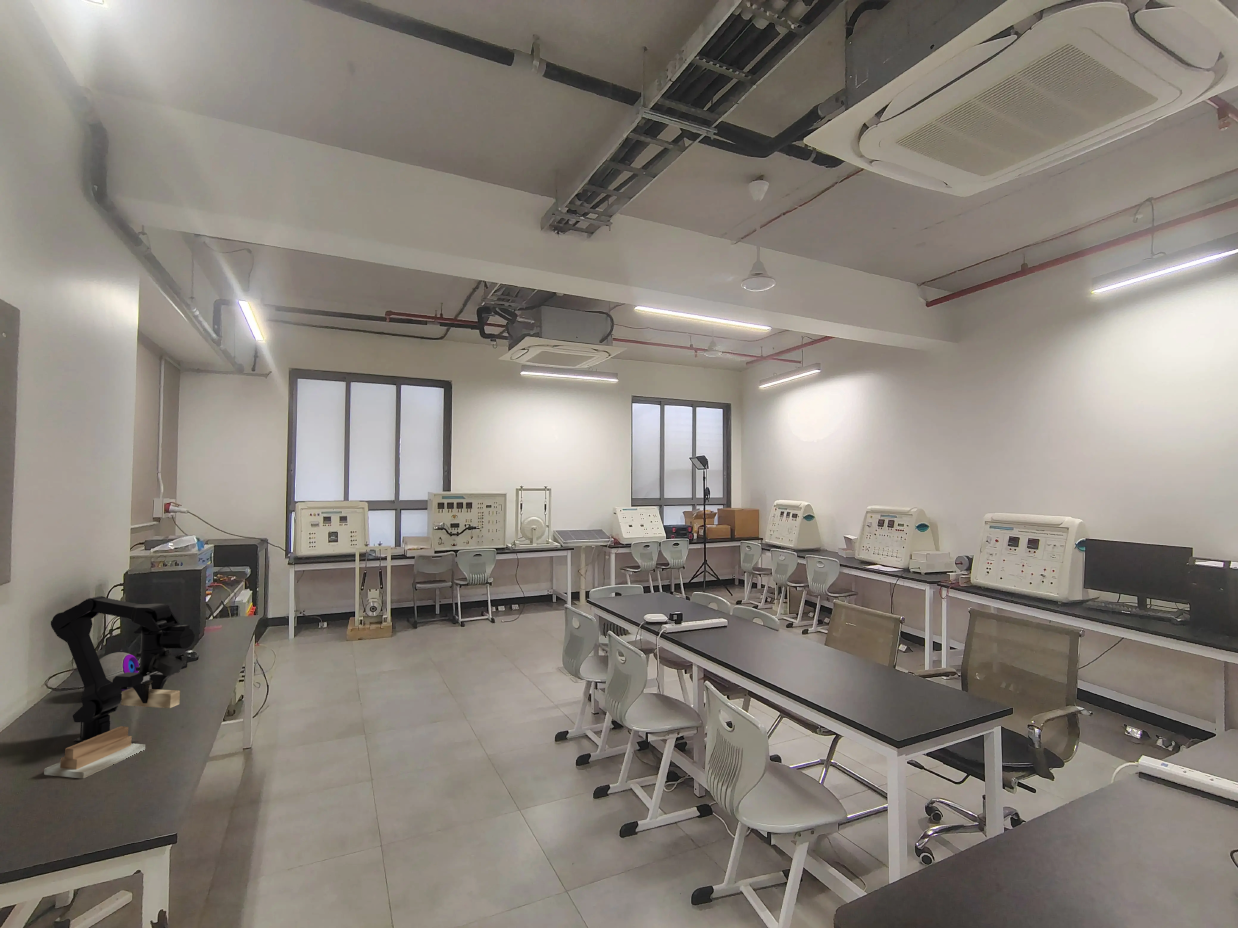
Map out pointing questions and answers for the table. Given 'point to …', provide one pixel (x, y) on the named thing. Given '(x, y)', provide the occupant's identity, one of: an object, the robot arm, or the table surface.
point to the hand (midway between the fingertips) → (150, 700)
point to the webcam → (118, 665)
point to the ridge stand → (95, 754)
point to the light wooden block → (152, 698)
